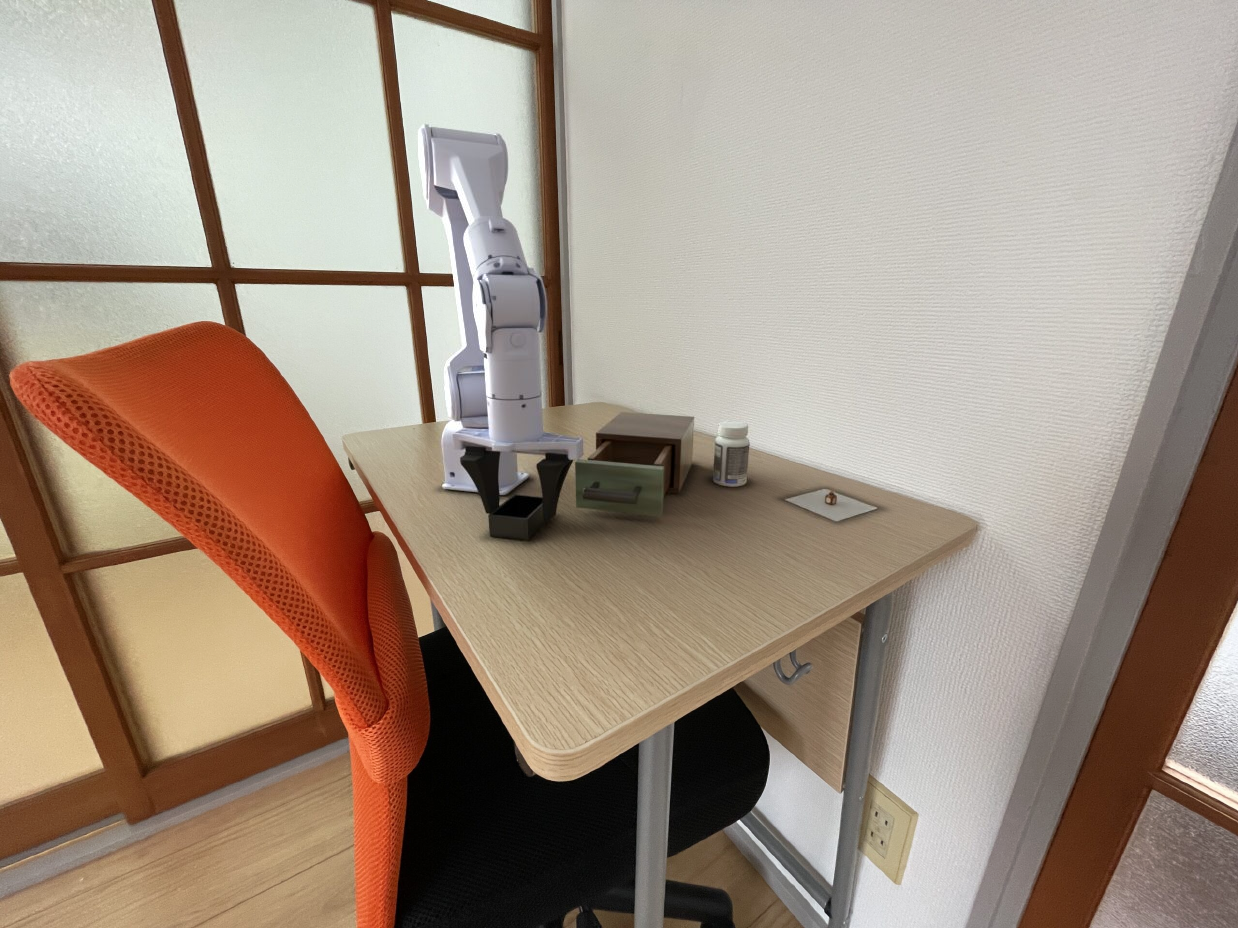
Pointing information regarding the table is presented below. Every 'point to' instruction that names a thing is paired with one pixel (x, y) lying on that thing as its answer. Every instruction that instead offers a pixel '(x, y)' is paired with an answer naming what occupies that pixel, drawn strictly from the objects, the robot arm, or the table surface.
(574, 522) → the table surface
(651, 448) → the drawer
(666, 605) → the table surface
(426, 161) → the robot arm
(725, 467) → the pill bottle
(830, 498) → the grey square plate
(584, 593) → the table surface
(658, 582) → the table surface
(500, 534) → the tray
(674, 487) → the cabinet
